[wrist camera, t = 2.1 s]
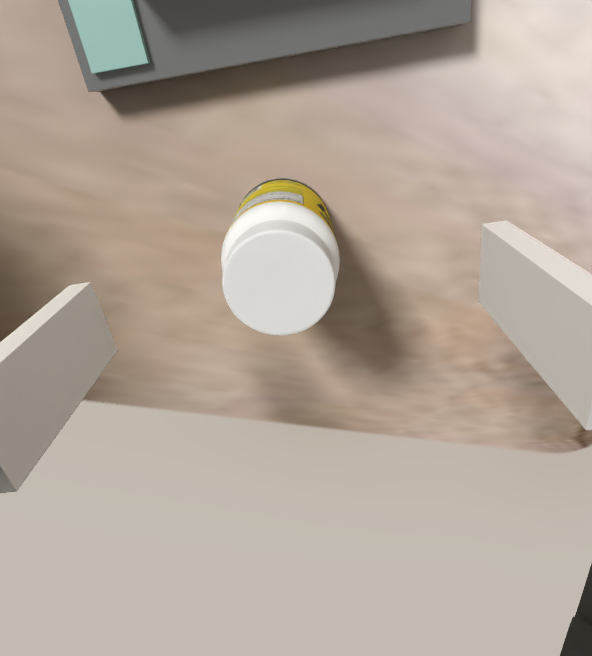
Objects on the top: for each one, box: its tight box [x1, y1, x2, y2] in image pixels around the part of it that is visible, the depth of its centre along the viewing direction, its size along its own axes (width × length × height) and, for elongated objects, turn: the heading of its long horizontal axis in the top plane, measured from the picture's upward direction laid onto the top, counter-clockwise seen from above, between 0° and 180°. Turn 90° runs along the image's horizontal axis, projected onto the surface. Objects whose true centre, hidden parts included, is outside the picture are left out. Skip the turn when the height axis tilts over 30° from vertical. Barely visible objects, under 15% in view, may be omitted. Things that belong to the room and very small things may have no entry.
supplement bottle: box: [221, 178, 340, 335], centre depth 19 cm, size 5×5×8 cm
